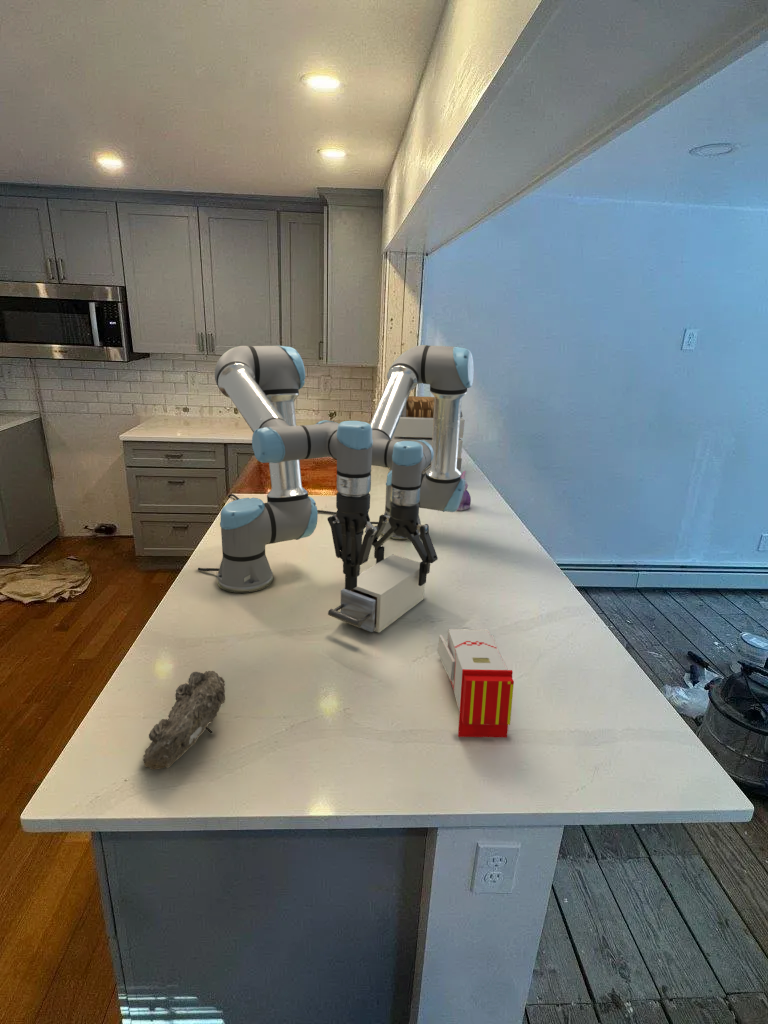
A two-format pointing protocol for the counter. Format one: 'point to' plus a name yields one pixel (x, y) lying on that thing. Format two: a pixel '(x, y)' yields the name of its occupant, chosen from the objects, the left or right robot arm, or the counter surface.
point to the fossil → (185, 719)
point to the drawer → (356, 609)
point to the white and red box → (478, 682)
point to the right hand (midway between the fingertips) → (400, 576)
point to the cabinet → (392, 588)
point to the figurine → (464, 496)
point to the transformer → (421, 423)
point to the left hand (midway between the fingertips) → (350, 587)
